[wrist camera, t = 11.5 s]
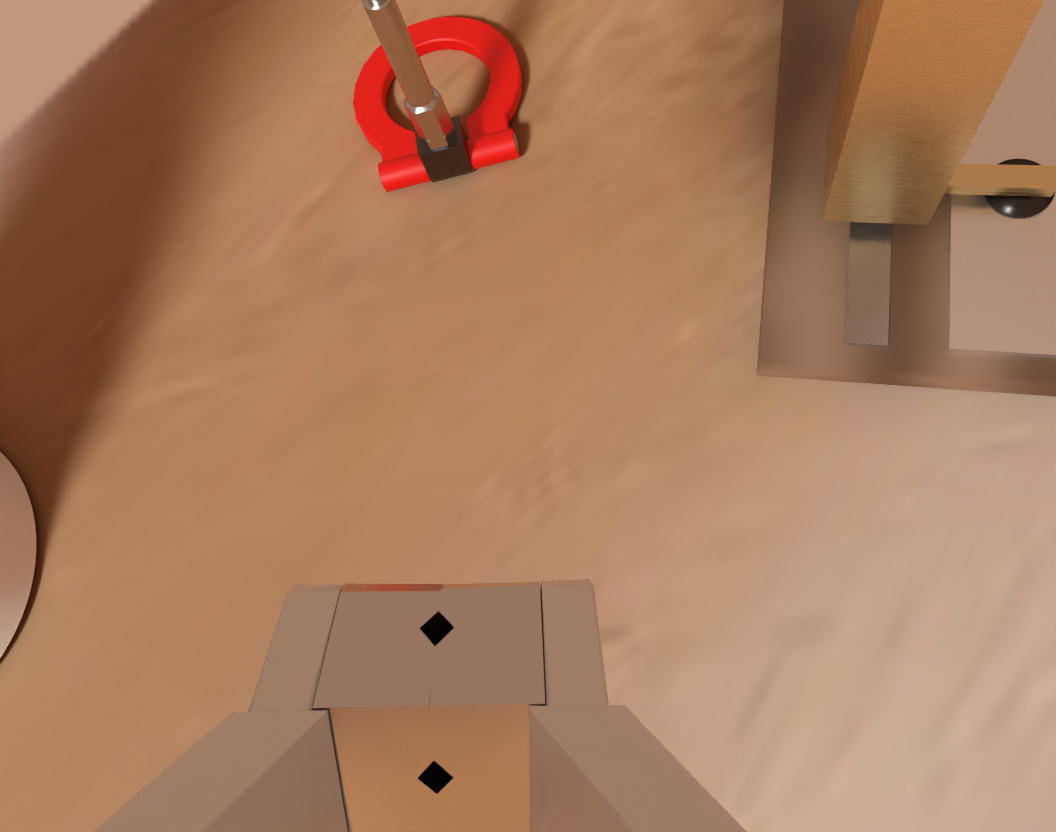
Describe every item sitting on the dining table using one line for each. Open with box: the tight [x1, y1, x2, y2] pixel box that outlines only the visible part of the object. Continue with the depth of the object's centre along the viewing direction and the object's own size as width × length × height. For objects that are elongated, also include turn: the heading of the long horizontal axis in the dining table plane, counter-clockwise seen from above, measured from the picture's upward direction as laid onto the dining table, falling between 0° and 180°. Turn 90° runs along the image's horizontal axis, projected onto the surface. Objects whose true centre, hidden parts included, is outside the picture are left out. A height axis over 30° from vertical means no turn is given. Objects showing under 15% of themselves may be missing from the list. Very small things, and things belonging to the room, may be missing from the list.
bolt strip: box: [844, 0, 1056, 358], centre depth 36 cm, size 9×22×1 cm, turn 172°
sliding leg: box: [822, 0, 1056, 225], centre depth 27 cm, size 8×4×17 cm, turn 82°
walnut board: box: [757, 0, 1056, 396], centre depth 38 cm, size 12×24×2 cm, turn 172°
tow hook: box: [353, 0, 523, 192], centre depth 38 cm, size 8×13×9 cm
